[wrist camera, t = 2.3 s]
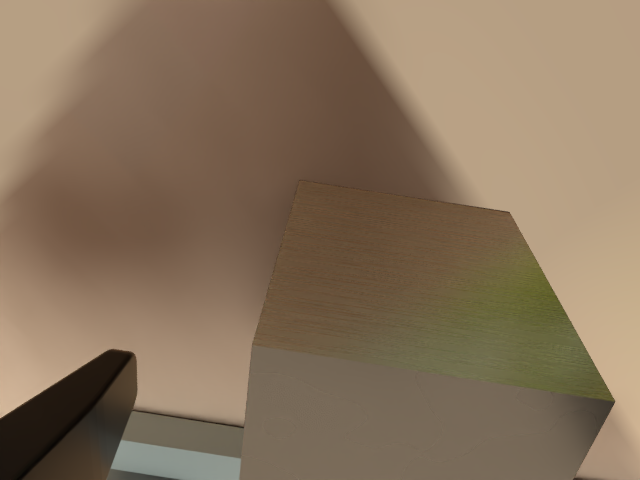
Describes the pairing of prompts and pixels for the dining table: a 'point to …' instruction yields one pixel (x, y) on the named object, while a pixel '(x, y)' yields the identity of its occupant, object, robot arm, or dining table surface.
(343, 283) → the block
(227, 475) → the vise
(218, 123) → the dining table surface
